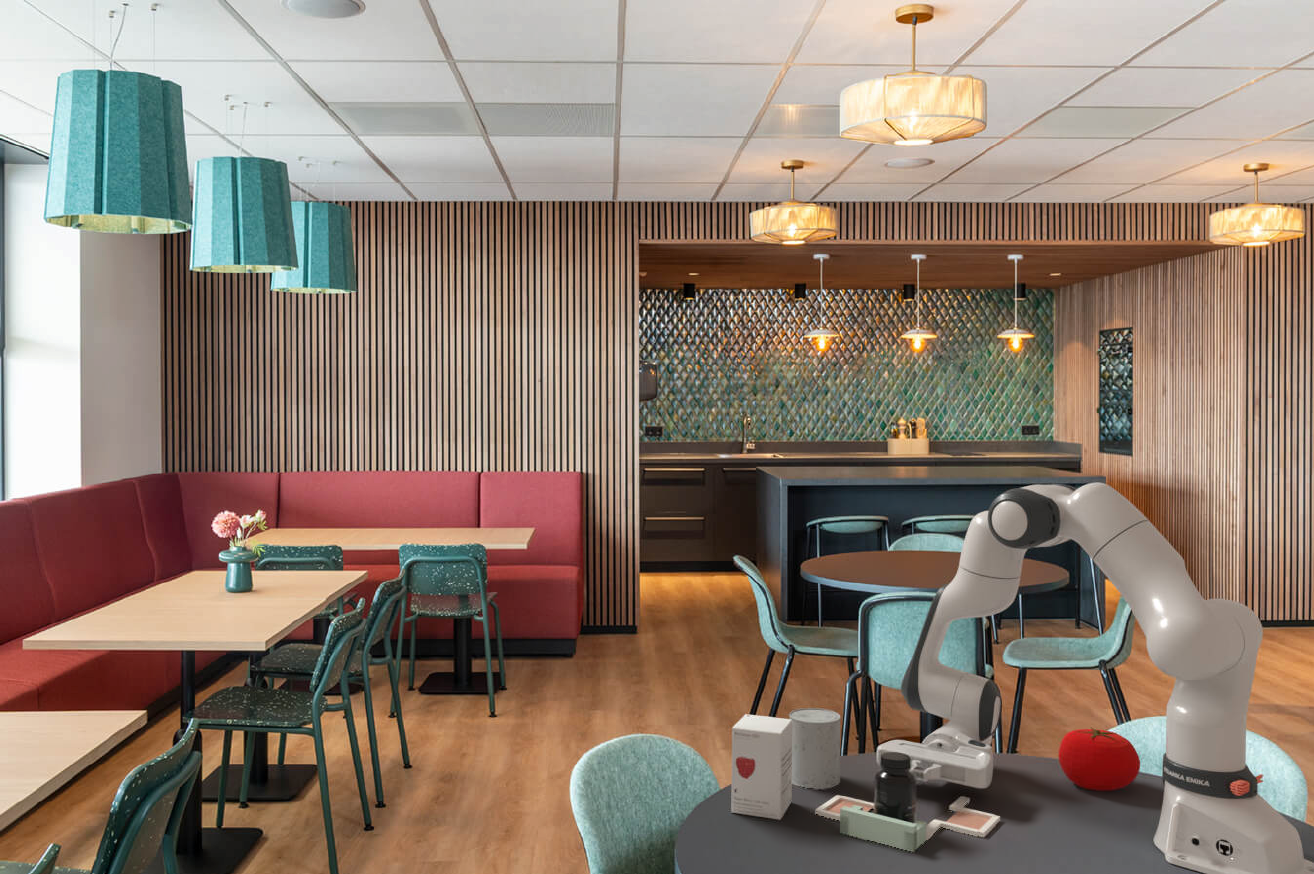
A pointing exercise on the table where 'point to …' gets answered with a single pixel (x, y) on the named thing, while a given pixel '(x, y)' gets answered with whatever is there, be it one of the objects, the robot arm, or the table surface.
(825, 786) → the speckled concrete cylinder
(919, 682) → the robot arm
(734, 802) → the supplement box
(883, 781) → the supplement bottle
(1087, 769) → the tomato
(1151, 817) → the table surface
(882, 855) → the table surface
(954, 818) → the trap lane
